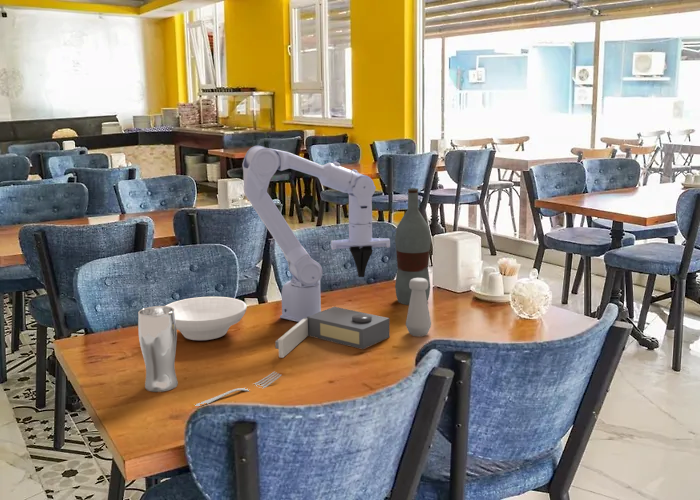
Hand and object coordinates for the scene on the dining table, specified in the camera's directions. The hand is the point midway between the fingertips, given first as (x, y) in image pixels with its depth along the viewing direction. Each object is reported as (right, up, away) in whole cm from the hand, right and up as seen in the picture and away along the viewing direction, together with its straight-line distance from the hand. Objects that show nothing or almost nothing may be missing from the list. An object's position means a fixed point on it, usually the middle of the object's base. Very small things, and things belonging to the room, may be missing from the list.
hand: (361, 276), depth 186 cm
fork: (-26, -21, -49) cm, 59 cm away
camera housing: (-3, -13, -17) cm, 21 cm away
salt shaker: (+13, -13, -15) cm, 24 cm away
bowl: (-36, -14, -15) cm, 41 cm away
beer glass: (-39, -20, -44) cm, 62 cm away
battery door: (-15, -14, -23) cm, 31 cm away
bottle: (+14, -7, +11) cm, 19 cm away
